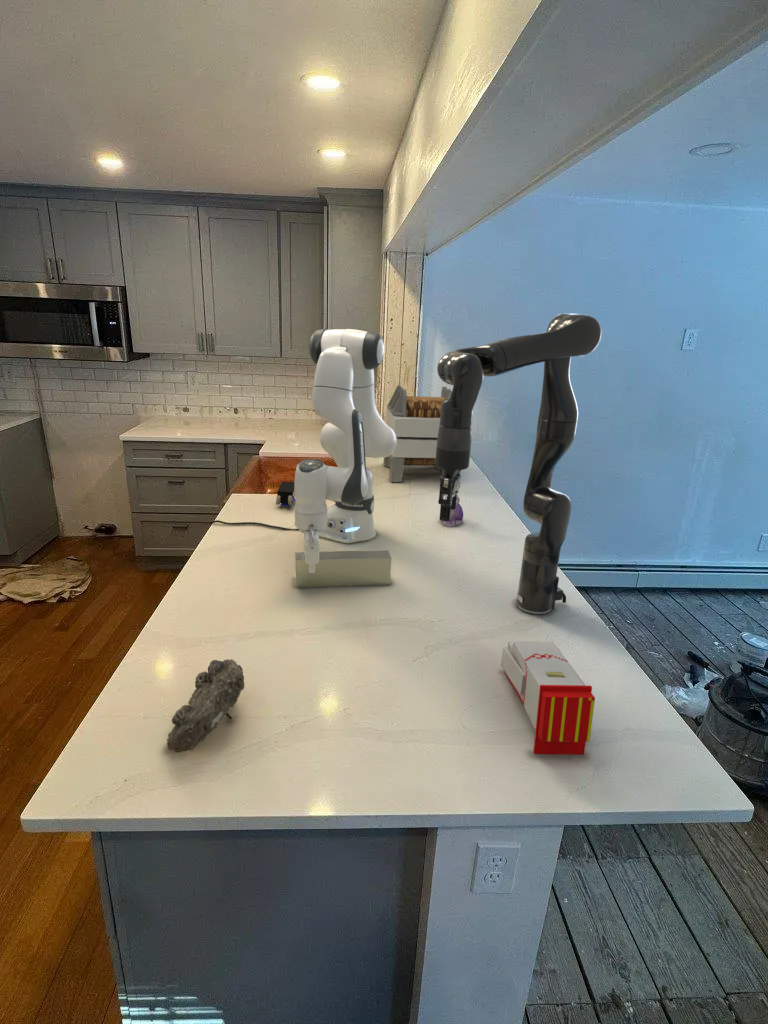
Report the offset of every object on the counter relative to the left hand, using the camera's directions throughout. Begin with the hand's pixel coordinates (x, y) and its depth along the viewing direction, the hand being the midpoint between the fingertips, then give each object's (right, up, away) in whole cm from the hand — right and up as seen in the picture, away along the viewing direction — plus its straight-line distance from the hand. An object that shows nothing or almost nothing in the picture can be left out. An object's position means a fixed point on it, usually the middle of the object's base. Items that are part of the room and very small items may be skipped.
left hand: (311, 564), depth 160 cm
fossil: (-12, -24, -52) cm, 59 cm away
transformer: (+38, +34, +114) cm, 125 cm away
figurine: (+46, +11, +52) cm, 70 cm away
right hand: (+35, +14, -30) cm, 48 cm away
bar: (+9, -5, +3) cm, 11 cm away
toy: (+52, -25, -45) cm, 73 cm away
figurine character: (-18, +18, +63) cm, 68 cm away
